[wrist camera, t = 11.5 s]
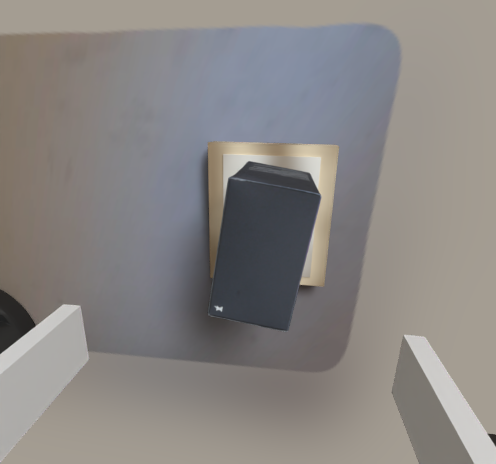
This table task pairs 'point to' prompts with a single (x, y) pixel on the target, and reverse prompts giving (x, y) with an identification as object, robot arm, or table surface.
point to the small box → (263, 245)
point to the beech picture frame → (287, 156)
